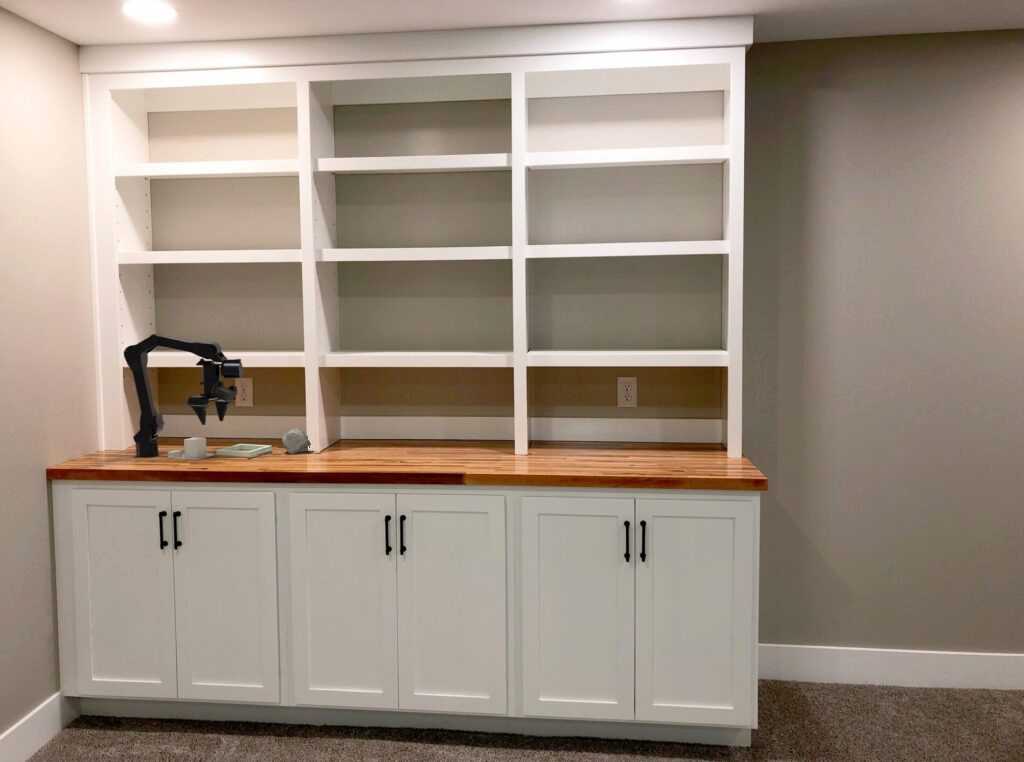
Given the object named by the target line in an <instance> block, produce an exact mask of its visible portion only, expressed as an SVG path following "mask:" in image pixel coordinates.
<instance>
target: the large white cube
mask: <svg viewBox="0 0 1024 762" xmlns="http://www.w3.org/2000/svg"><path fill="white" fill-rule="evenodd" d="M183 441H184V442H183V443H184V446H183V449H184V448H185V457H195V458H197V457H201V456H205V455H207V454H206V453H207V438H206V437H196V436H195V437H194V436H192V437H190V438H185V439H183Z"/></svg>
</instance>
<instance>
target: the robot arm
mask: <svg viewBox="0 0 1024 762" xmlns="http://www.w3.org/2000/svg"><path fill="white" fill-rule="evenodd" d="M157 347H164V348H168V349H172V350H177V351H183V352H188V353H190V354H193V355H195V356H197V357H199V358H200V357H201V358H200V359H199V360H198V361H197V362H196V364H195V365H196V366H197V367H198V366H202V381H199V383H200V384H199V385H202V392H201V393H200V395H193V396H189V397H187V399H186V401H187V403H186V405H187V406H189V407H190V408H191V409H192V410H193V411H194V413H195V414H196V416H197V418H198V420H199V422H200V423H201V425H202V426H205V425H206V420H207V410H208V408H209V407H210V405H208V404H209V403H210V402H214V403H215V407H216V408H215V409H216V412H217V415H218V416H217V417H218V420H219V422H224V419H225V415H226V412H227V409H228V408H229V406H230V405H231V404H232V403H234V401H236V398H237V397H236V396H238V386H237V385H234V384H233V385H229V386H226V385H224V383H225V382H224V380H221V376H222V377H223V378H224V379H242V378H243V376H244V367H243V363H242V359H241V358H234V359H233V358H232V359H229V358H228V357H227V356H225V354H224V353H223V351H222V347H221V345H220V344H219V343H218V342H217V341H216V342H215V341H193V340H189V339H184V338H179V337H173V336H169V335H164V334H161V333H153V334H150V336H148V337H146V338H145V339H143V340H141V341H140V342H137V343H136V344H132V345H128V346H127V347H125V349H124V350H123V358H124V360H125V362H126V365H127V366H128V367H129V369H130V371H131V372H132V376H133V381H134V385H135V391H136V394H137V399H138V403H139V408H140V409H139V410H140V417H139V430H138V432H137V433H135V434H134V435H133V436H132V438H133V441H134V442H135V448H136V450H135V451H136V457H138V458H148V457H149V458H154V457H158V456H159V444H158V440H157V439H158V437H159V435H160V434H161V433H162V432H163V430H164V425H165V424H166V423H165V421H164V418H163V417H164V416H163V413H162V412H160V413H158V411H157V410H156V408H155V403H154V399H153V395H152V388H151V385H150V384H151V383H150V379H149V376H148V370H147V368H148V361H149V356H148V355H149V353H151V352H152V351H154V350H155V349H156V348H157Z"/></svg>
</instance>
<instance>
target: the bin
mask: <svg viewBox="0 0 1024 762" xmlns="http://www.w3.org/2000/svg"><path fill="white" fill-rule="evenodd" d="M272 453H273V445H270V444H269V445H267V444H250V443H238V444H235V445H230V446H227V447H223V448H219V449H216V450H215V454H216V455H217V456H230V457H231V456H232V457H233V456H235V457H247V460H252V459H256V458H259V457H262V456H265V455H268V454H272Z"/></svg>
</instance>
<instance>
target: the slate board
mask: <svg viewBox="0 0 1024 762" xmlns="http://www.w3.org/2000/svg"><path fill="white" fill-rule="evenodd" d="M206 454H207V455H205V456H201V457H197V458H195V457H185V448H184V447H183V451H182V450H179V449H176V450H169V451H167V458H168V459H178V460H179V459H182V460H196V461H198V460H202V459H205V458H208V457H212V456H215V455H216V453H210V452H208V453H207V452H206Z"/></svg>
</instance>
